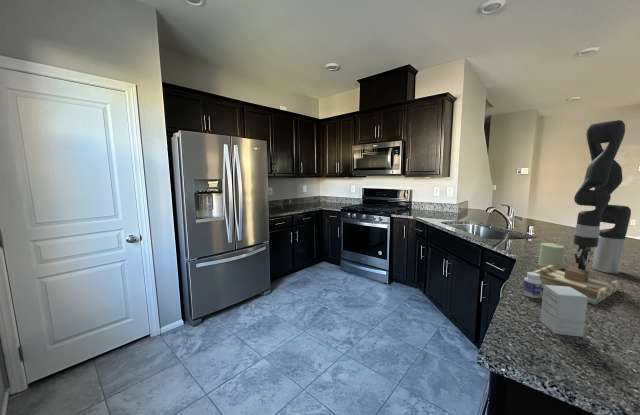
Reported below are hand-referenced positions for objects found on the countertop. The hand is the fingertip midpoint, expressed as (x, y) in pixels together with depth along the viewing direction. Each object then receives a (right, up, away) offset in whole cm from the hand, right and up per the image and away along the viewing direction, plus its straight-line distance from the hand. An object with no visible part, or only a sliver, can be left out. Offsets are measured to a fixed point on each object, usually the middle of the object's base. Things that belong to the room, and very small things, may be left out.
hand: (581, 272), depth 114 cm
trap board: (-10, -5, -5) cm, 12 cm away
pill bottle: (-34, -6, -13) cm, 37 cm away
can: (+3, -2, +19) cm, 20 cm away
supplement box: (-43, -9, -35) cm, 56 cm away
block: (-5, -2, -2) cm, 6 cm away
